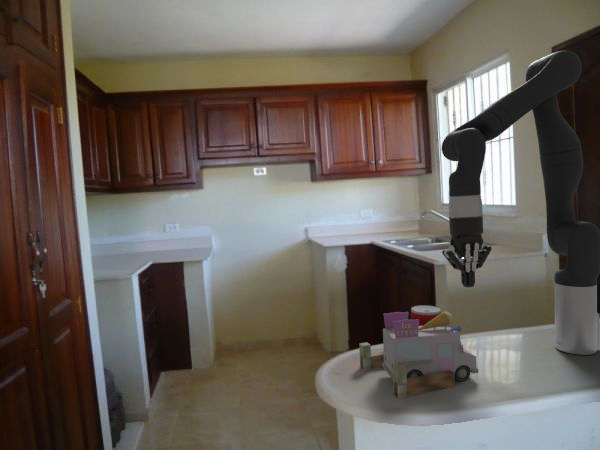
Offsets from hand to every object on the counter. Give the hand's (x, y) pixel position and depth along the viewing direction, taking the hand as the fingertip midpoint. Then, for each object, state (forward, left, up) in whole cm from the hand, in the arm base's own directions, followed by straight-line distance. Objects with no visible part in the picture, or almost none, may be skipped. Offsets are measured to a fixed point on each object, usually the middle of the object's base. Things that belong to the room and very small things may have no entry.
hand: (468, 286), depth 105 cm
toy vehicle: (+13, +3, -19) cm, 24 cm away
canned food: (+3, -14, -19) cm, 24 cm away
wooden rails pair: (+18, 0, -19) cm, 26 cm away
